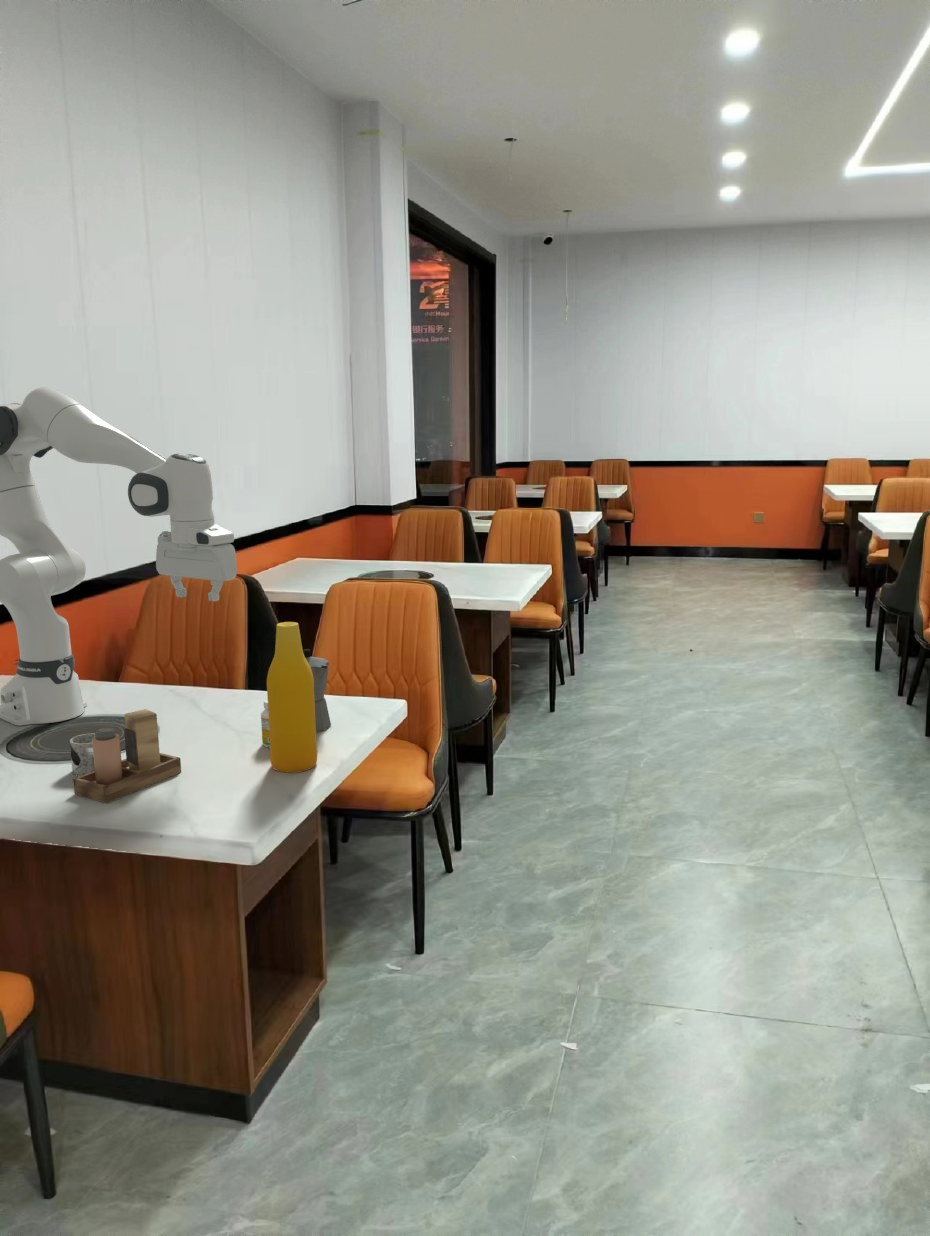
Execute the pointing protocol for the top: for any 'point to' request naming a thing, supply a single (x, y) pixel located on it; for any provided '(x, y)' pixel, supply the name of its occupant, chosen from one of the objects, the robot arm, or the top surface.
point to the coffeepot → (319, 689)
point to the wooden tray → (126, 780)
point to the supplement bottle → (265, 725)
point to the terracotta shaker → (107, 756)
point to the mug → (82, 754)
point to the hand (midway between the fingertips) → (197, 598)
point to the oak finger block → (141, 740)
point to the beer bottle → (291, 704)
